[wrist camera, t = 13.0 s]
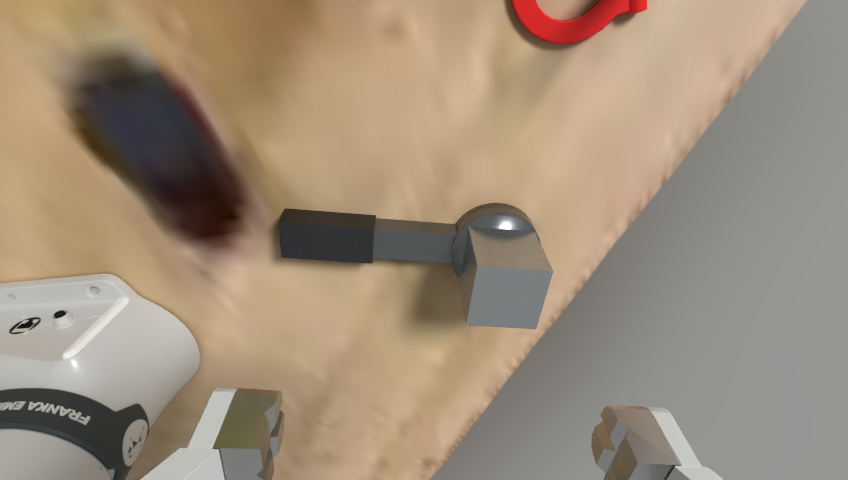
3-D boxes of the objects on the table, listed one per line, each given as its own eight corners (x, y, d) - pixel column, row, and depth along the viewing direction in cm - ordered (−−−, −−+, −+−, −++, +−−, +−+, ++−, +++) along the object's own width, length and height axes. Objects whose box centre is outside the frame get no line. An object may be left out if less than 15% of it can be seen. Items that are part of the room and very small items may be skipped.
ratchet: (288, 262, 44) (272, 302, 39) (284, 186, 40) (265, 219, 35) (524, 278, 46) (539, 318, 40) (543, 206, 42) (562, 241, 36)
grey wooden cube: (459, 281, 42) (466, 325, 37) (468, 226, 40) (477, 266, 34) (520, 285, 43) (536, 329, 38) (534, 231, 40) (553, 271, 35)
